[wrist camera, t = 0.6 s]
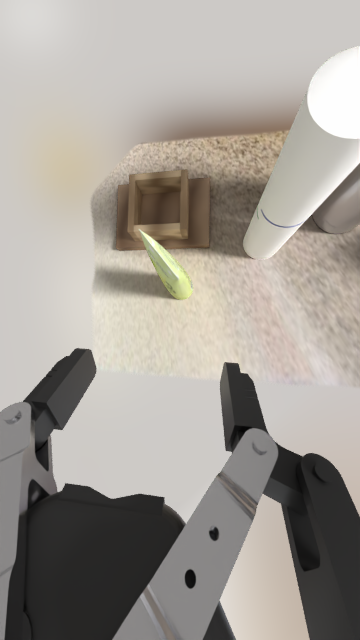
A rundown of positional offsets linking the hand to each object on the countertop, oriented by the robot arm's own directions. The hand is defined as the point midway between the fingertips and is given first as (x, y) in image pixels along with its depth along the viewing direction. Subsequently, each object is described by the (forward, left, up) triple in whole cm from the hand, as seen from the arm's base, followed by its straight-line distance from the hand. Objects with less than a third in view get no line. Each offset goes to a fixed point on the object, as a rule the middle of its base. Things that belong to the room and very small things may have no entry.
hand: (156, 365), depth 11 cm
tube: (-6, -9, -29) cm, 31 cm away
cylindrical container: (-24, -4, -29) cm, 38 cm away
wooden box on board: (-14, -23, -29) cm, 39 cm away
